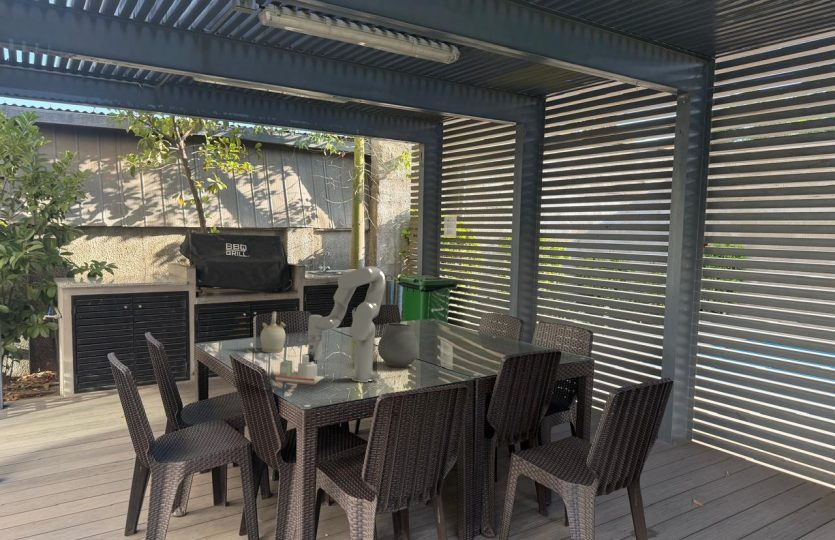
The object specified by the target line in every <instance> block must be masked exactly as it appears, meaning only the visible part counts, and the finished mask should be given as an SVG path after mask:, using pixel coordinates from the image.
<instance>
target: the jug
mask: <svg viewBox="0 0 835 540" xmlns="http://www.w3.org/2000/svg"><path fill="white" fill-rule="evenodd" d="M276 322H277V311H272V314H271V322H270V324H267V323H266V322H262V327H263V329H262V330H261V332H260V334H259V335H260V337H259V338H260V344H261V345H260V346H261V350H262V352H263V353H266V352H268V354H278V353H281V352H283V350H284V346H285V342H286V331H285V329H284V327H286V326H287V324H285V323H284V322H282V321H280V324H277V323H276Z"/></svg>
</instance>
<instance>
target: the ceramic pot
mask: <svg viewBox="0 0 835 540" xmlns="http://www.w3.org/2000/svg"><path fill="white" fill-rule="evenodd" d="M413 328H414V325H412V324H411V325H410V324H404V323H396V322H390V323H386V330H385V331H384V333H383V334H382V335H381V337H380V339H379V341H378V345H377V352H378V355H379V357H380V358H381V359H382V361H384V363H385V364H386V365H387V366H390V367H394V368H404V367H407V366H409V365H410V364H412V363H413V362H415V361H416V359H417V358H418V356H419V354H420V346H419V341H418V338H417V336H416V335H415V333H414V329H413Z"/></svg>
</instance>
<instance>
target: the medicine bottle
mask: <svg viewBox="0 0 835 540" xmlns="http://www.w3.org/2000/svg"><path fill="white" fill-rule="evenodd" d="M297 364H298V365H297V374H298V377H300V378H310V379H312V378H317V376H318V363H317V364H314V356H313V355H311V354H308V353H306V354H303V355H302V356H301V362H300V363H297Z"/></svg>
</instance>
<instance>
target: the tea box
mask: <svg viewBox="0 0 835 540" xmlns="http://www.w3.org/2000/svg"><path fill="white" fill-rule="evenodd" d="M292 374H293V360H288V359H284V360H282V361H281V362H280V363H279V375H280V376H290V377H292Z"/></svg>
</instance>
